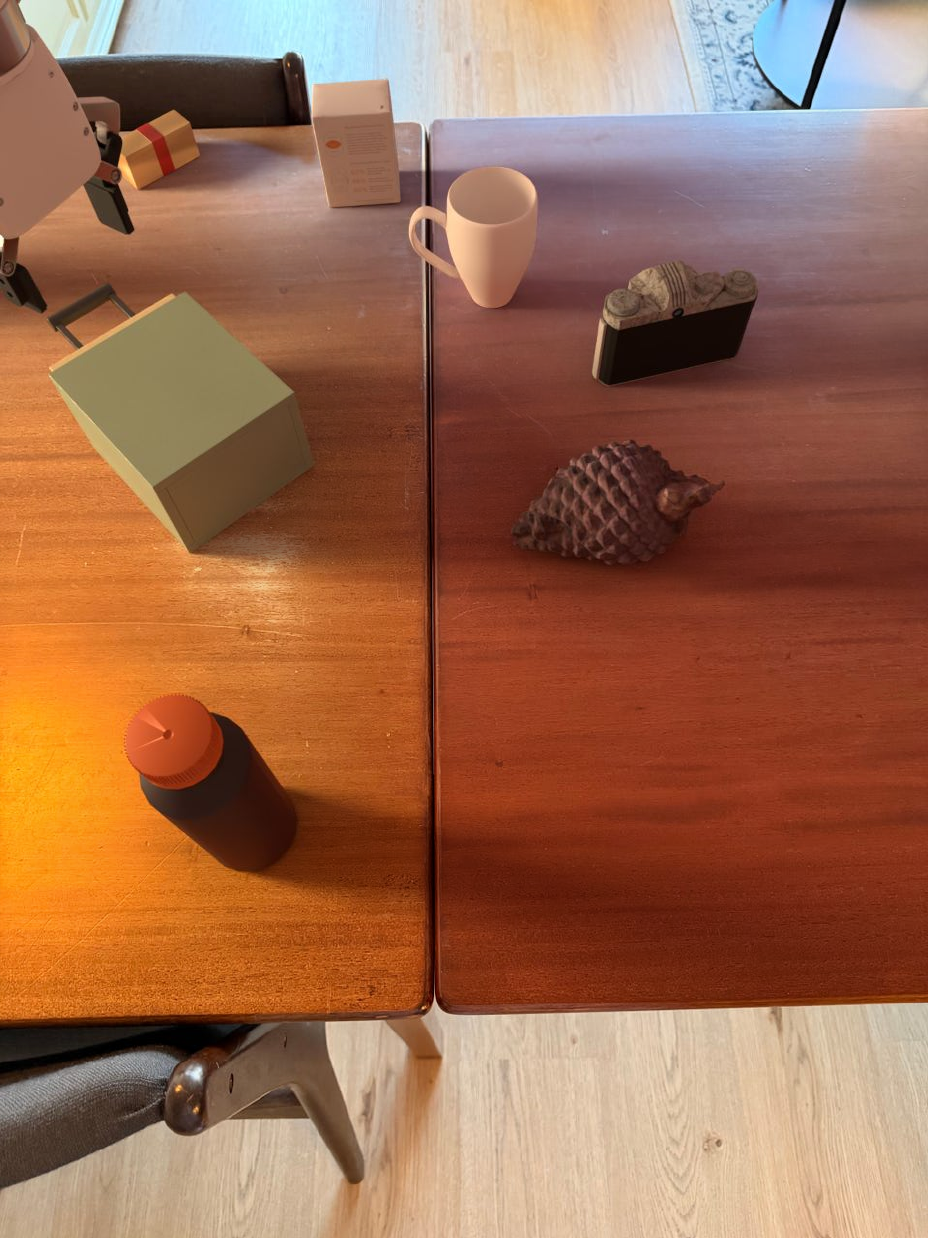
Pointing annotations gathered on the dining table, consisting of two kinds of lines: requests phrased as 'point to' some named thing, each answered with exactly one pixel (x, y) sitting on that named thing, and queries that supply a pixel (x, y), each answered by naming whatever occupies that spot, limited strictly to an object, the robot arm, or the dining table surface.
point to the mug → (485, 232)
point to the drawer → (87, 305)
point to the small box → (356, 142)
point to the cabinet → (187, 419)
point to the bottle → (210, 782)
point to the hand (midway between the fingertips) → (75, 264)
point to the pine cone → (613, 506)
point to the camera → (672, 322)
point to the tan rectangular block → (157, 149)
